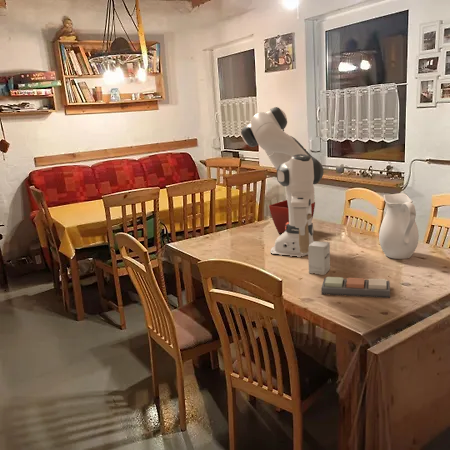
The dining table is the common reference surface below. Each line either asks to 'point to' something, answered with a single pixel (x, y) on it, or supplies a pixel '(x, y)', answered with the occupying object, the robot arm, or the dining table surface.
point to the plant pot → (282, 214)
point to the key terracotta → (355, 283)
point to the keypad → (356, 290)
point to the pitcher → (399, 227)
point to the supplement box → (319, 257)
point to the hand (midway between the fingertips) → (303, 233)
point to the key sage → (334, 282)
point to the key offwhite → (377, 284)
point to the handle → (304, 238)
